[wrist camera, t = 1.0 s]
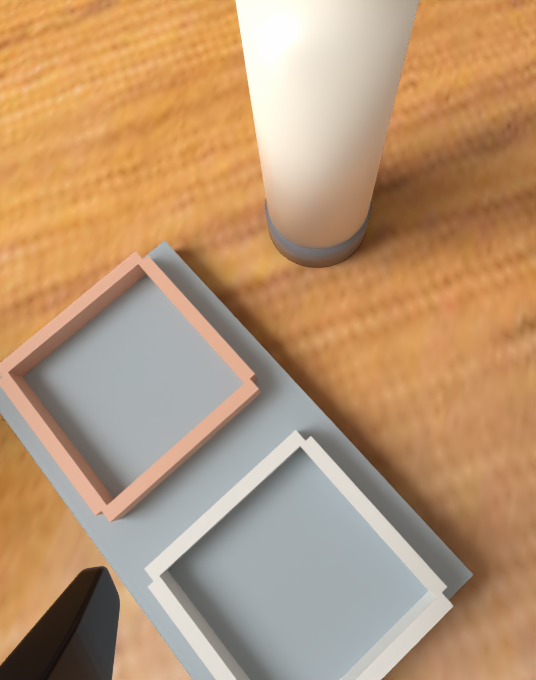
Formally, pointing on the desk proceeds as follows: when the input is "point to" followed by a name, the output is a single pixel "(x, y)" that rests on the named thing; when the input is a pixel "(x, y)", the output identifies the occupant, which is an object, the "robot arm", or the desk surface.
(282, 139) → the white cylinder
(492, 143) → the desk surface
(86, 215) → the desk surface
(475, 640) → the desk surface
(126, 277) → the socket board
